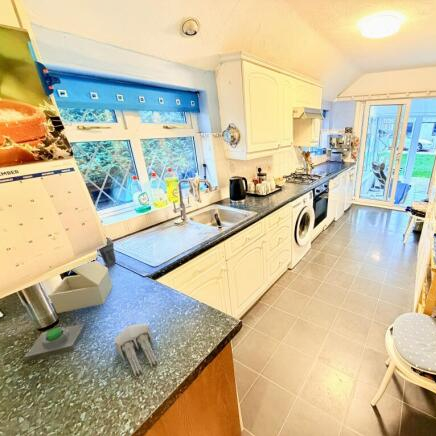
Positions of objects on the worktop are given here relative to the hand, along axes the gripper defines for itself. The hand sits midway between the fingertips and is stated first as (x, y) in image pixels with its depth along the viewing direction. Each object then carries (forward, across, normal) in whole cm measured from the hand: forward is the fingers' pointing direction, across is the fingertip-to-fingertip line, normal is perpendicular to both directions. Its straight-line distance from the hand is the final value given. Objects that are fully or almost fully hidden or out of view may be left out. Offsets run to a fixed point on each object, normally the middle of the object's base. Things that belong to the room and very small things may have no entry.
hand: (93, 259), depth 97 cm
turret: (+18, +19, -37) cm, 45 cm away
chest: (+18, -7, 0) cm, 19 cm away
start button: (+14, -7, -24) cm, 29 cm away
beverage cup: (+18, -6, +30) cm, 35 cm away
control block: (+18, -7, -24) cm, 31 cm away
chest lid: (+2, -4, 0) cm, 4 cm away
